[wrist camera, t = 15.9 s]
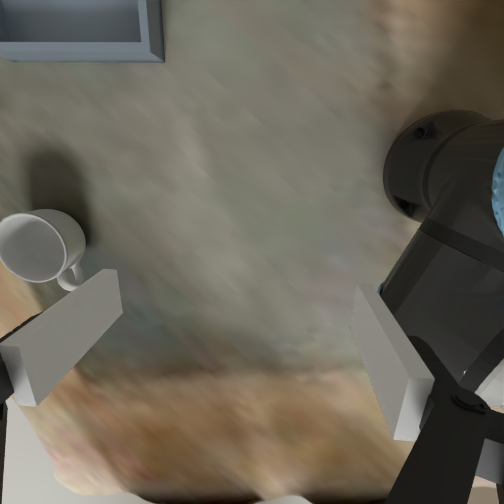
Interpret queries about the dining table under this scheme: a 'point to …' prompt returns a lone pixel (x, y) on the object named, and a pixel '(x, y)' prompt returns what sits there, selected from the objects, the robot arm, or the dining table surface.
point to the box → (81, 31)
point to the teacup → (43, 246)
